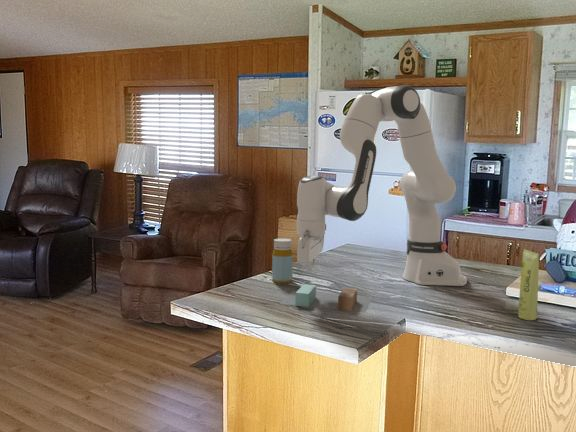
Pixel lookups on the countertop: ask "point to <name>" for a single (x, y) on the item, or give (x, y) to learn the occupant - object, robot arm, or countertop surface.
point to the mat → (329, 301)
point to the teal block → (305, 295)
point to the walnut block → (347, 299)
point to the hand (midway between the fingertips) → (310, 271)
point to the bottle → (282, 261)
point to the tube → (529, 286)
